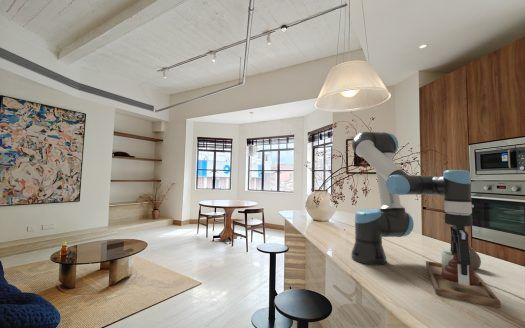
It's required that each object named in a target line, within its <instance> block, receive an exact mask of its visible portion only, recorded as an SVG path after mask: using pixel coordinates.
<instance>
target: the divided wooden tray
mask: <svg viewBox="0 0 525 328" xmlns="http://www.w3.org/2000/svg"><path fill="white" fill-rule="evenodd" d="M425 267H426V269H427V270H426V271H427V272H428V276H429V279H430V281H431V284H432V287H433V290H434V292H435V295H436V296H437V295H438V296H442V297H447V298H451V299H456V300H461V301H465V302H469V303H475V304H479V305H485V306H489V307H492V308H493V307H494V308H499V309H501V307H502V306H501V300H500V299H499V298H498V296H497V295H496V294H495V293H494V292H493V291H492V290H491V288H490V287H489V286H488V285H487V284H486V283H485V282H484V280H483V279H482V278H481V277H480V276H479V275H478V274H477V272H476V271H475V270H474V272H475V274H474V275H475V276H477V278H478V279H479V283H478V284H477V285H475V286H470V285H469V286H468V285H463V284H459V283H458V282H452V281H449V280H446V279H445V278H443V276H442V274H441V272H442V262H437V261H436V262H435V261H429V260H426V261H425Z"/></svg>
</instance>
